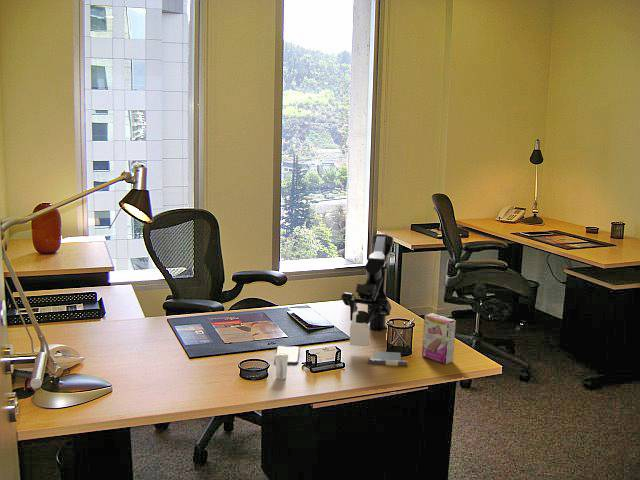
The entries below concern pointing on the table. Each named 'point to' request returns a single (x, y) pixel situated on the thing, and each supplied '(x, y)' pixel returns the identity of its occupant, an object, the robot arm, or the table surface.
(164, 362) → the table surface
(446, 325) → the candy bar box
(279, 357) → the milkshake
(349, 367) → the table surface
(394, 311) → the table surface
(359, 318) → the medicine bottle
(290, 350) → the phone case
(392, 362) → the marker pen
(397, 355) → the slate mat
